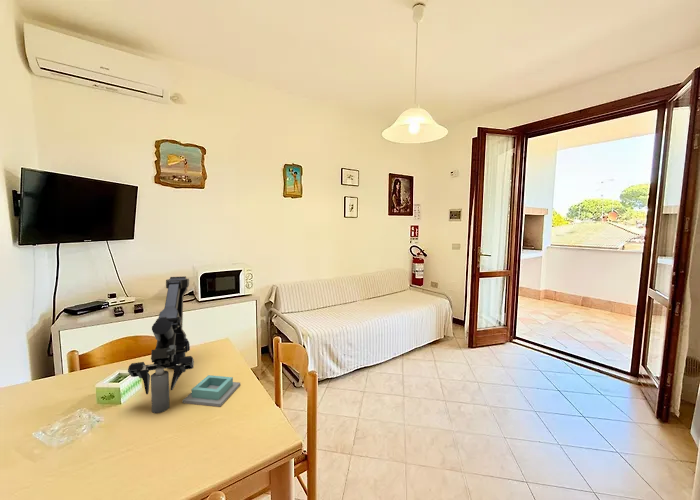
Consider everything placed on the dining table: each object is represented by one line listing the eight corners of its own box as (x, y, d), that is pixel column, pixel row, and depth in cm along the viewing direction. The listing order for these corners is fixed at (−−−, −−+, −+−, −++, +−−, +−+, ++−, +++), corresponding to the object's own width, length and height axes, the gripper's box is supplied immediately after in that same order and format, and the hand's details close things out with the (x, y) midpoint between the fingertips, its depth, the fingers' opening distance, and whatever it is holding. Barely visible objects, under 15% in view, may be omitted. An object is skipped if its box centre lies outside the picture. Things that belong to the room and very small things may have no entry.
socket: (206, 381, 116) (206, 372, 115) (240, 385, 114) (240, 375, 114) (182, 402, 102) (182, 391, 101) (220, 406, 100) (220, 395, 100)
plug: (159, 403, 101) (158, 364, 100) (172, 404, 100) (172, 365, 99) (148, 412, 96) (146, 371, 95) (161, 414, 96) (160, 372, 94)
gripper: (128, 340, 97) (117, 389, 87) (192, 333, 104) (188, 379, 94) (136, 353, 104) (127, 400, 95) (195, 346, 112) (192, 389, 102)
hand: (159, 392), depth 97 cm, fingers open, 7 cm apart
